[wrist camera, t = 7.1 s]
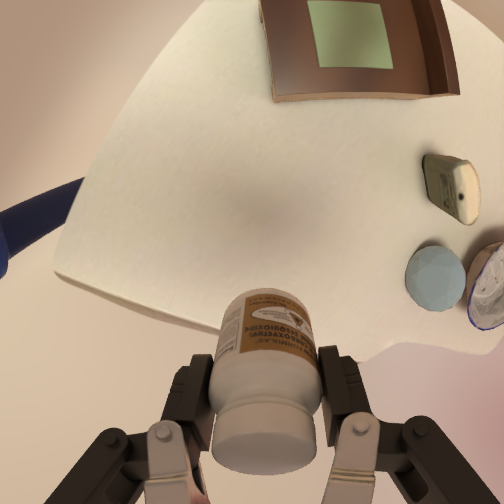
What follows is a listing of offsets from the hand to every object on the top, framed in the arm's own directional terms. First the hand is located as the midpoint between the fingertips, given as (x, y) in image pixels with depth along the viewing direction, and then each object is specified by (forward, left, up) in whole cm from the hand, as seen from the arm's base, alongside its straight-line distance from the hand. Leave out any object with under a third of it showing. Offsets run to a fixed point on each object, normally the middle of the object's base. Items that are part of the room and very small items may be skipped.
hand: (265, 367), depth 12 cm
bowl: (+29, -9, -20) cm, 36 cm away
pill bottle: (0, 0, -4) cm, 4 cm away
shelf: (+9, +17, -20) cm, 27 cm away
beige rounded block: (+18, +4, -20) cm, 27 cm away
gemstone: (+18, -7, -20) cm, 28 cm away
